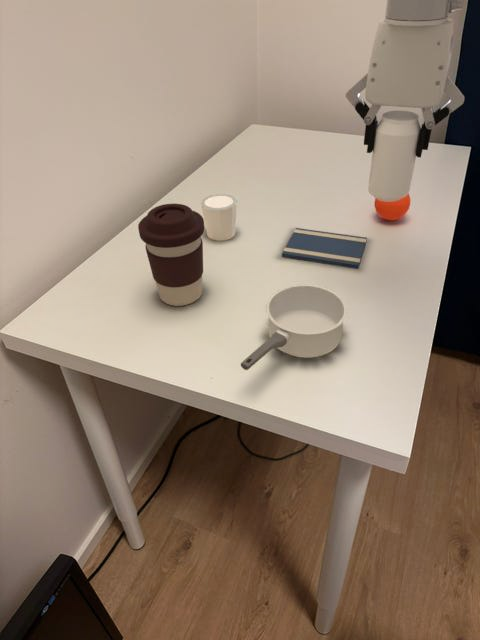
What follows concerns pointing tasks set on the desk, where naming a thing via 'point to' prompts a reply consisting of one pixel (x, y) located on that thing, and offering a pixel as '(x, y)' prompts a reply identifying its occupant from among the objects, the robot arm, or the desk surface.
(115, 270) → the desk surface
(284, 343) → the saucepan
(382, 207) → the clementine
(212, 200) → the white candle
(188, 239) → the coffee cup
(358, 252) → the towel
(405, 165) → the beverage can
